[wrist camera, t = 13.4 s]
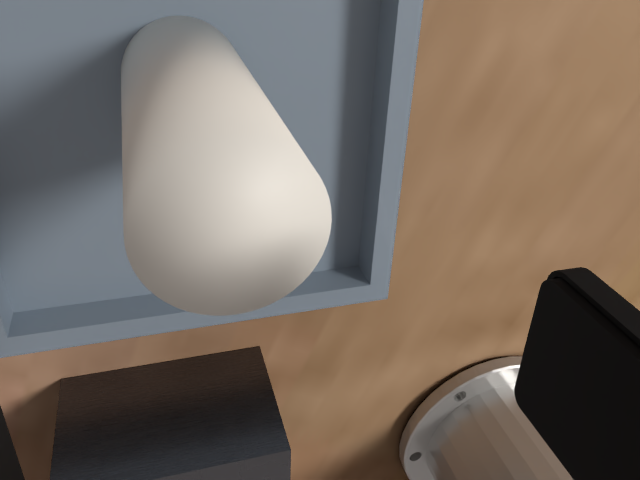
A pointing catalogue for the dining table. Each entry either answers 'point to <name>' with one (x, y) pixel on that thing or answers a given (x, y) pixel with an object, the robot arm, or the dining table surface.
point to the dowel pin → (212, 176)
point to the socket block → (172, 422)
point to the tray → (106, 153)
